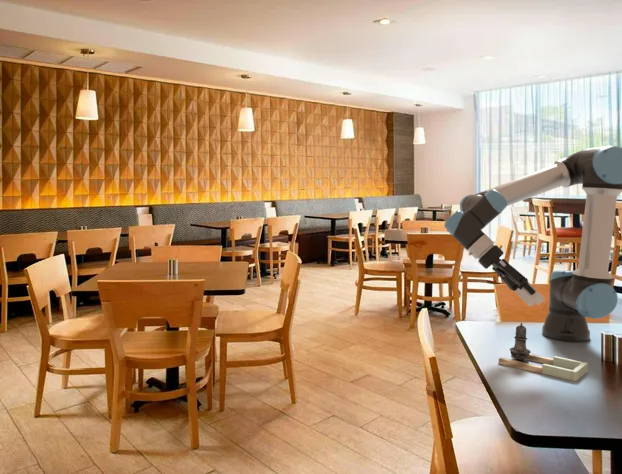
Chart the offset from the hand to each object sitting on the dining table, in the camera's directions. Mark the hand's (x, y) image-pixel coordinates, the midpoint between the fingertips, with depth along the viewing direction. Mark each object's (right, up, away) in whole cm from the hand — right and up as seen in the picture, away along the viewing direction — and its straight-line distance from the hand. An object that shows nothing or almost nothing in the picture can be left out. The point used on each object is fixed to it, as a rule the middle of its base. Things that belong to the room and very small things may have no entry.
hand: (537, 303), depth 166 cm
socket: (+3, -18, -10) cm, 21 cm away
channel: (-5, -17, -4) cm, 18 cm away
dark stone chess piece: (-6, -17, -2) cm, 19 cm away
